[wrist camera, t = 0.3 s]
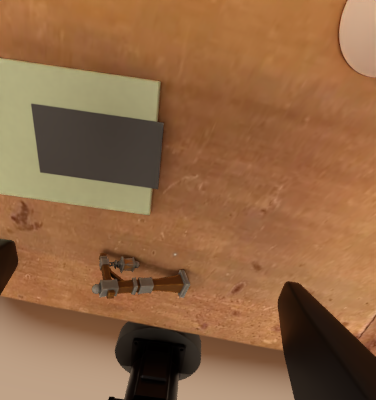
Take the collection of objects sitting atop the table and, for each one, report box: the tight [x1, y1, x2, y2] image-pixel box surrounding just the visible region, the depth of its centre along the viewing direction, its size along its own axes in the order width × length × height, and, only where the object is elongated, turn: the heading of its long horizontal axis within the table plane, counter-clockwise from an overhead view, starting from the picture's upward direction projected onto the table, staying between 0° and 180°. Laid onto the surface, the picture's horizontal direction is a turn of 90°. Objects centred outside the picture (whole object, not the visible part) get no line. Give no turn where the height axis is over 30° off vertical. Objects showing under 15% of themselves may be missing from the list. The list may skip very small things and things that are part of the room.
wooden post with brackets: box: [92, 253, 190, 299], centre depth 24 cm, size 2×8×4 cm, turn 70°
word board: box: [0, 58, 164, 215], centre depth 20 cm, size 10×20×1 cm, turn 83°
